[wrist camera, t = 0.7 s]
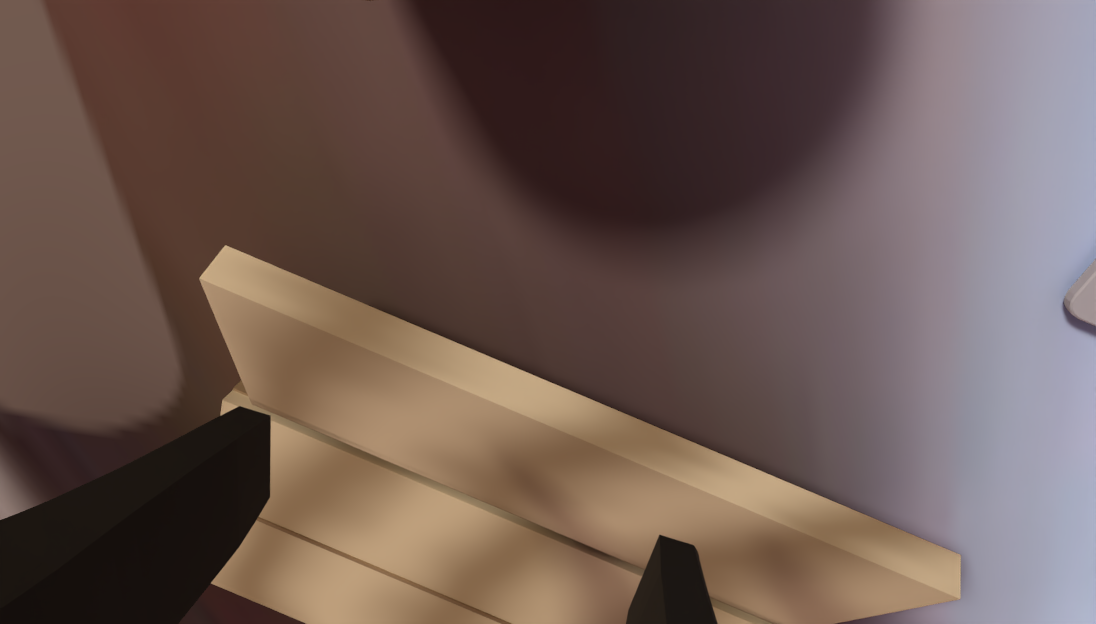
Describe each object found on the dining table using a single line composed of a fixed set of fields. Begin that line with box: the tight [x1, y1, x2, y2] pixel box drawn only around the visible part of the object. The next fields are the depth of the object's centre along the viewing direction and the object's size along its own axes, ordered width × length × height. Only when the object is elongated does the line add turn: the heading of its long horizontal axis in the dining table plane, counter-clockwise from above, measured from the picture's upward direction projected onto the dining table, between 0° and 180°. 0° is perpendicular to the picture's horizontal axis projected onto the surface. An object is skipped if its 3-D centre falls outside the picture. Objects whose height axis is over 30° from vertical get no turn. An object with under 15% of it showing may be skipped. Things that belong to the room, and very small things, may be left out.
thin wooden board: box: [211, 380, 772, 624], centre depth 27 cm, size 22×10×1 cm, turn 70°
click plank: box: [199, 245, 961, 624], centre depth 20 cm, size 20×8×1 cm, turn 70°
